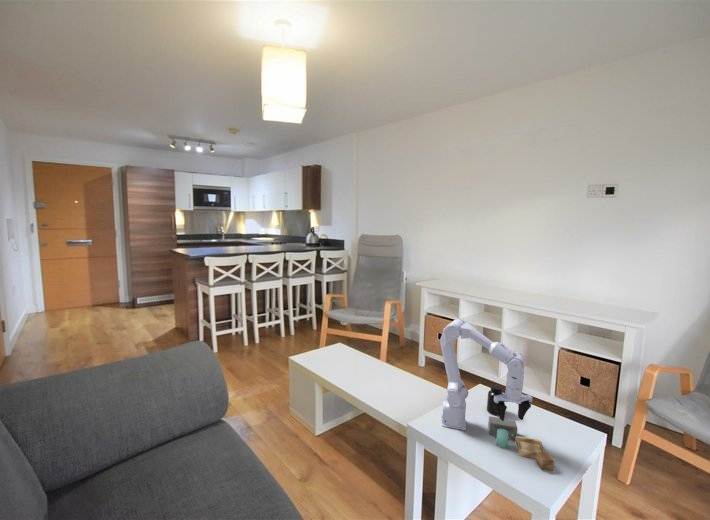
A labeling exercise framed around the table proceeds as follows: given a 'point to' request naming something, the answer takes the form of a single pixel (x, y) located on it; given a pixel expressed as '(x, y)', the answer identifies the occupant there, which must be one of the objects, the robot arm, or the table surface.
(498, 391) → the supplement bottle
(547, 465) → the walnut block
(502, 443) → the teal peg
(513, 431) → the gray block
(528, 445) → the birch tray
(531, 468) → the table surface
